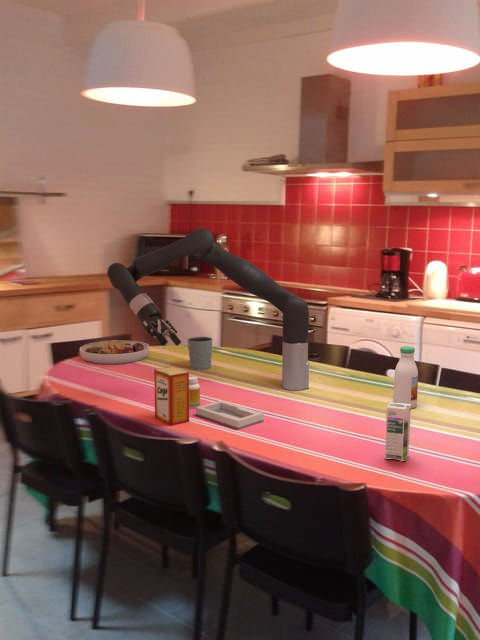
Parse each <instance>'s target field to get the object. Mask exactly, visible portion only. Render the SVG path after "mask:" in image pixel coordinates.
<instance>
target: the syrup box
mask: <svg viewBox="0 0 480 640" xmlns="http://www.w3.org/2000/svg"><path fill="white" fill-rule="evenodd" d="M411 409H412V408H411V404H403V403H393V401H391V402H389V403H388V404H387V407H386V415H385V416H386V418H385V419H386V420H385V445H384V448H385V449H384V458H385V457H386V458H391V459H397V460H404V461H406V460H407V461H408V458H407V457H409V455H408V454H410V453H409V452H410V437H411V435H410V434H411V433H410V432H411V413H412V410H411ZM407 461H406V462H407Z"/></svg>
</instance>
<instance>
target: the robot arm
mask: <svg viewBox="0 0 480 640" xmlns="http://www.w3.org/2000/svg"><path fill="white" fill-rule="evenodd" d="M192 255H193V256H195V257H197V258H198V259H199V260H202V261H203V262H206V263H207V264H209V265H211V266H212V267H214V268H215V269H217V270H218V271H219V272H221V273H222V274H223V275H225V277H227V278H228V279H229V280H231V281H232V282H234V283H235V284H236V285H238V287H240V288H242V289H243V290H244V291H246V292H248V293H250V294H251V295H254V296H255V297H258V298H260V299H261V300H264V301H266V302H268V303H270V304H271V305H272V306H274V307H275V308H276V309H277V310H279V311H280V312H281V313H282V354H281V355H282V357H281V358H282V360H281V362H282V363H281V365H282V366H281V367H282V368H281V369H282V370H281V387H282V389H285V390H288V391H304V390H306V389H307V390H308V389H309V387H310V385H309V384H310V363H309V362H308V360H309V356H308V355H309V327H310V326H309V325H310V323H309V322H310V310H309V305H308V303H307V301H306V300H305V299H304V298H302V297H300V296H298V295H296V294H295V293H293V292H291V291H289V290H288V289H286V288H284V287H282V286H281V285H280V284H279V283H277V282H276V281H275V280H274V279H273V278H272V277H271V276H269V274H267V273H265V272H264V271H263V270H261V268H259V267H257V266H256V265H255V264H254V263H252V262H250V261H248V260H247V259H245V258H243V257H240V256H238V255H235V254H233V253H231V252H229V251H227V250H225V249H224V248H223V247H221V246H220V245H219V244H218V243H217V242H215V238H214V235H213V233H212V232H211V231H210V230H208V229H207V228H204V227H203V228H202V227H200V228H195V230H193V231H191V232H190V233H188V234H186V235H185V236H183V237H181V238H180V239H178V240H176V241H174V242H172V243H170V244H168V245H166V246H163V247H159V248H158V249H156V250H153V251H151V252H147V253H146V254H143V255H141V256H138V257H136V258H134V259H133V260H132V263H131V265H130V266H128V267H126V266H125V265H124V264H122V263H121V262H113V263H111V264H110V265H109V266H108V268H107V272H106V273H107V277H108V279H109V282H110V284H111V286H112V287H113V288H114V289H117V290H119V292H120V294H121V297H122V298H123V299H124V301H125V302H126V304H127V305H128V307H130V309H131V311H132V312H133V313H134V315H135V316H136V317H137V319H138V320H139V322H140V323H141V325H142V326H143V328H144V329H145V331H146V332H147V333H148V335H149V336H150V337H154V338H155V339H157V341H158V342H159V343H160V344H161V346H163V347H164V346H166V345H167V344H168V340H167V338H166V337H165V336H167V337H168V338H169V339H170V340H171V342H172V343H173V344H174V345H175V346H177V347H178V346H179V345H181V344H182V341H181V339H180V338H179V337H178V336H177V334H178V330H177V328H175V327H174V326H173V324H172V323H171V322H170V321H169V320H168V319H167V320H164V319H162V318H161V317H162V311H161V310H160V309H159V307H158V306H157V305H156V303H155V302H154V301H153V300H152V298H150V296H148V294H146V292H145V291H144V290H143V289H142V287H141V286H140V285H139V284H138V281H140V280H141V279H143V277H146V276H148V275H151V274H153V273H155V272H159V271H160V270H162V269H164V268H166V267H168V266H169V265H171V264H173V263H175V262H176V261H178V260H181V259H183V258H186V257H188V256H189V257H190V256H192Z"/></svg>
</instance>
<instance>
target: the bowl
mask: <svg viewBox="0 0 480 640" xmlns="http://www.w3.org/2000/svg"><path fill="white" fill-rule="evenodd" d="M149 353H150V345H149V344H148V343H145V342H142V341H137V340H136V341H135V340H125V339H124V340H121V339H120V340H118V339H111V340H102V341H94V342H91V343H86V344H84V345H82V346H80V347H79V354H80V356H81V357H82V359H83V360H85V361H86V362H89V363H92V364H93V363H94V364H99V365H120V364H122V365H123V364H130V363H135V362H138V361H141V360H143V359H144V358H146V357H147V356H148V355H149Z"/></svg>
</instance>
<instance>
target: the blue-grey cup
mask: <svg viewBox="0 0 480 640" xmlns="http://www.w3.org/2000/svg"><path fill="white" fill-rule="evenodd" d="M187 347H188V351H189V353H188V355H189V365H190V366H189V367H190V369H192V370H196V371H197V370H198V371H205V370H208V369H211V367H212V357H213V356H212V355H213V354H212V353H213V352H212V349H213V338H212V337H210V336H193V337H189V338H187Z"/></svg>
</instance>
